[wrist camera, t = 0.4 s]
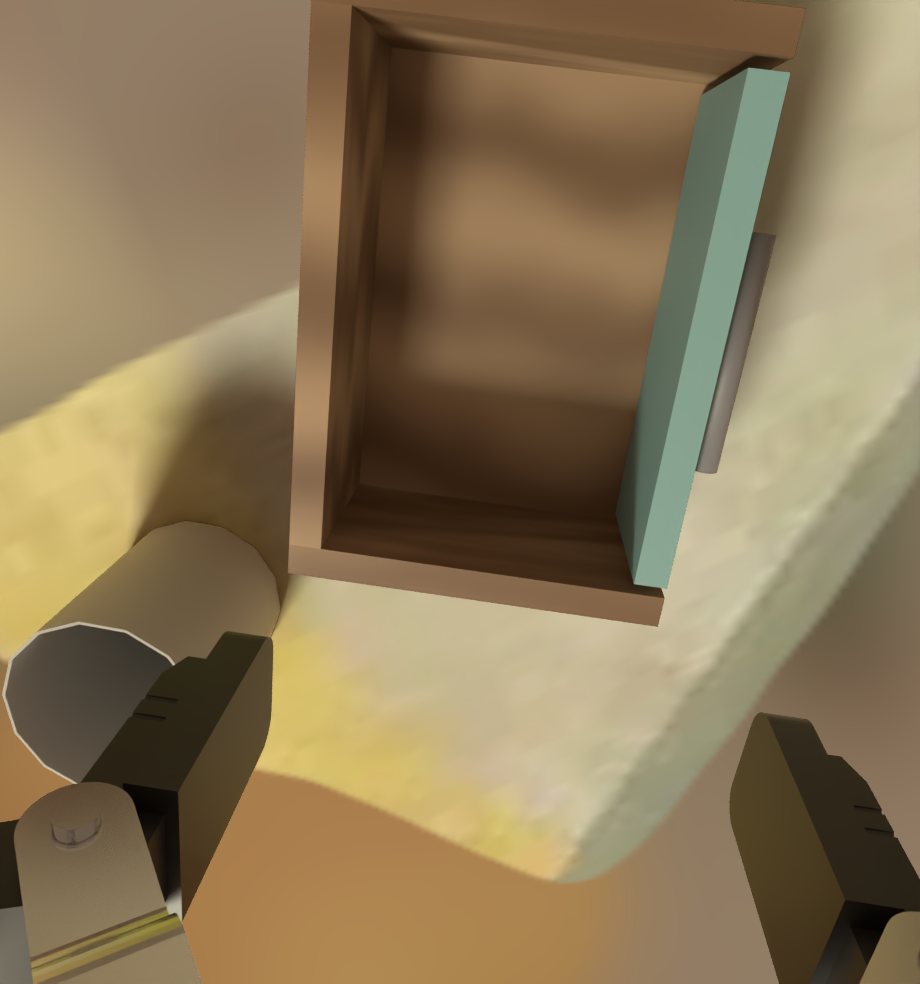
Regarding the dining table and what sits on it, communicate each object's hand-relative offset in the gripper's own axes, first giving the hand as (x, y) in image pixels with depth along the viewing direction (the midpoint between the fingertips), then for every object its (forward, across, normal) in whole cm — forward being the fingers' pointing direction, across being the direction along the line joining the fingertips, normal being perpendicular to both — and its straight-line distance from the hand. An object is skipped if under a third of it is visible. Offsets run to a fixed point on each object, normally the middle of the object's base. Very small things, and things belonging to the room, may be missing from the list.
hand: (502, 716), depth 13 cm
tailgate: (+22, -6, -3) cm, 23 cm away
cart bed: (+24, +1, -3) cm, 24 cm away
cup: (+24, +15, +14) cm, 31 cm away
